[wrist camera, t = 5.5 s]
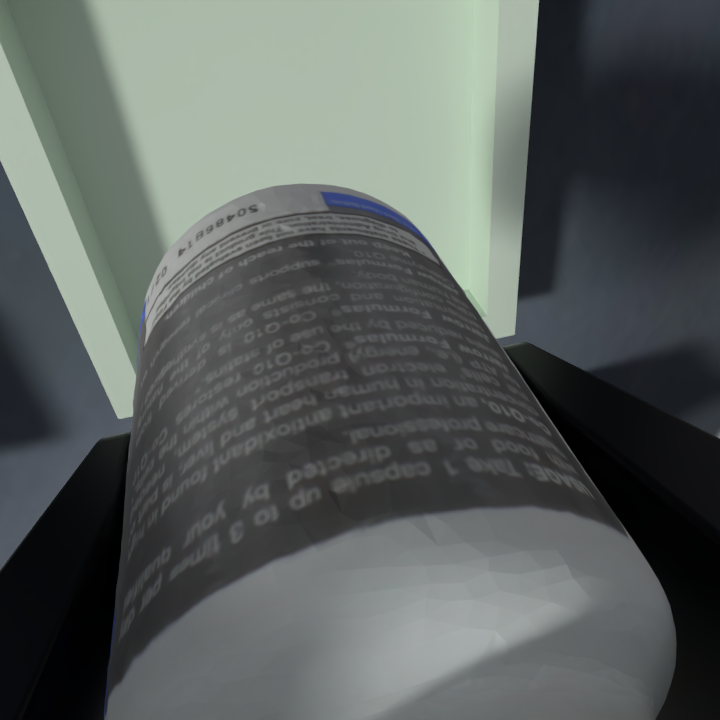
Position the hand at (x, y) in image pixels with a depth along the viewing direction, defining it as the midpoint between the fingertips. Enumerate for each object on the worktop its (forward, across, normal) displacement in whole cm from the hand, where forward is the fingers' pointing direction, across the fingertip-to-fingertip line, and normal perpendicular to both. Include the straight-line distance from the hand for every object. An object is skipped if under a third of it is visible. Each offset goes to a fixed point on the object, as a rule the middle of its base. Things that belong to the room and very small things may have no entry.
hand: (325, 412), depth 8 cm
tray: (+12, -1, +1) cm, 12 cm away
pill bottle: (+2, 0, 0) cm, 2 cm away
